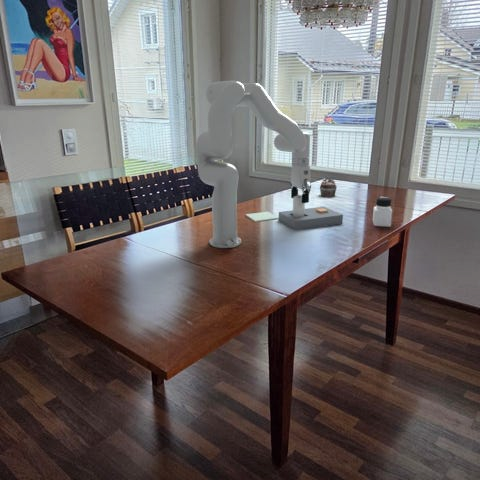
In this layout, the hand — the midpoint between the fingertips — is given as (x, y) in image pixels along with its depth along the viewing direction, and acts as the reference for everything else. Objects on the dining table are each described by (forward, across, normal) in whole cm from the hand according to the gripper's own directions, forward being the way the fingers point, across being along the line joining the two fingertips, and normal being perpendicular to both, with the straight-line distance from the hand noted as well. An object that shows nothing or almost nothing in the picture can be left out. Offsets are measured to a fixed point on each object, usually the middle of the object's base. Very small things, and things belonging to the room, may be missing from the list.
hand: (299, 200), depth 181 cm
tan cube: (+10, 0, -11) cm, 15 cm away
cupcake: (+12, +42, -41) cm, 60 cm away
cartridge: (+11, 0, +1) cm, 11 cm away
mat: (+10, +16, +12) cm, 22 cm away
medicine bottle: (+11, -16, -32) cm, 38 cm away
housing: (+11, 0, -5) cm, 12 cm away
